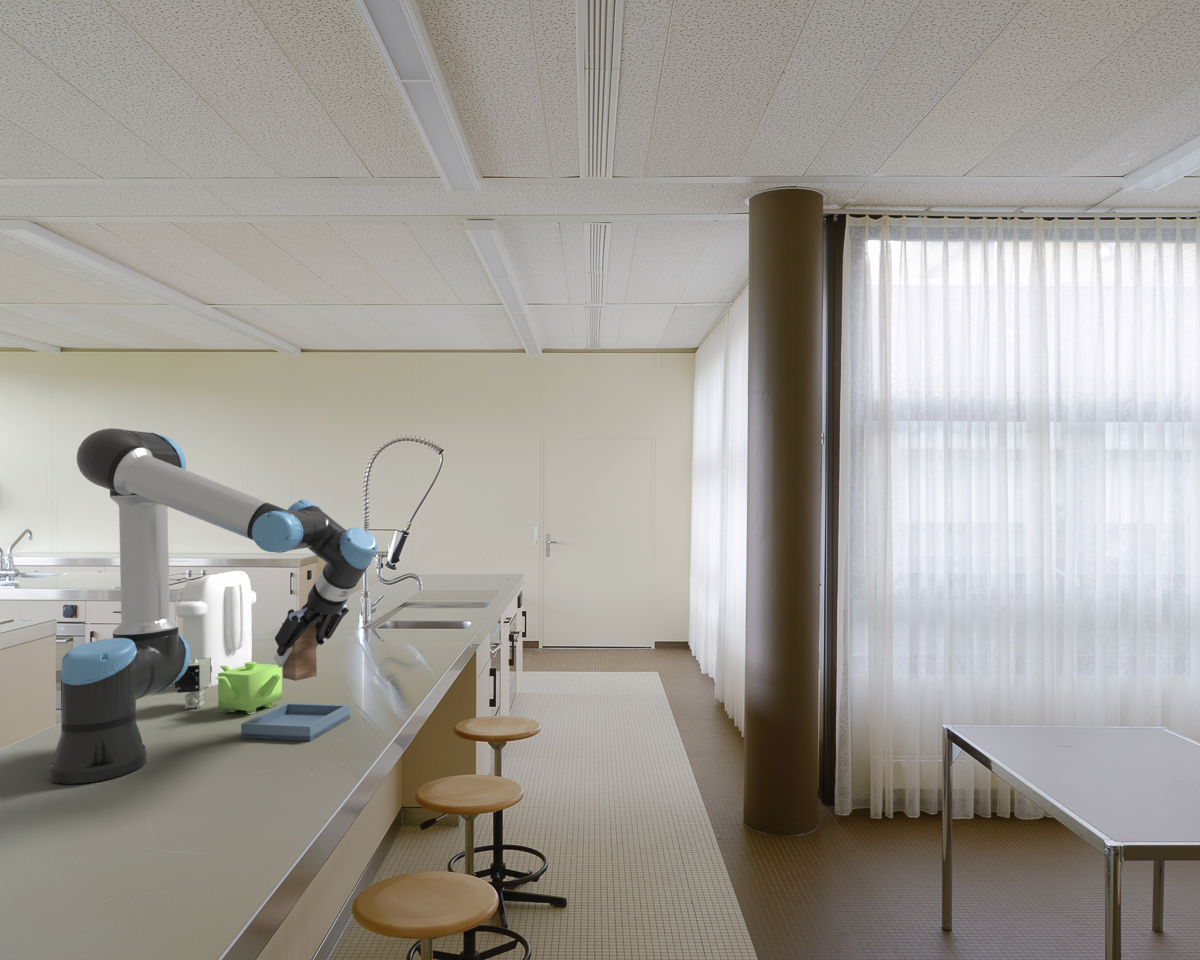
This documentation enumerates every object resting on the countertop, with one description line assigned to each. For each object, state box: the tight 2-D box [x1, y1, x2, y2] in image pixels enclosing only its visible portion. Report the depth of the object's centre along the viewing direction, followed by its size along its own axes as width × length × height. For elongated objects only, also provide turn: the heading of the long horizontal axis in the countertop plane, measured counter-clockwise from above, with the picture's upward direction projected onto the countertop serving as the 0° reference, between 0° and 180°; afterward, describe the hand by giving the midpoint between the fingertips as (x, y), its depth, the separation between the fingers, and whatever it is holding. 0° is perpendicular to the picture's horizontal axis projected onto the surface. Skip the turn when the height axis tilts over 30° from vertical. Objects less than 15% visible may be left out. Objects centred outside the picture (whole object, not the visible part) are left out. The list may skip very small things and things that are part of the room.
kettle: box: [216, 661, 283, 714], centre depth 177 cm, size 15×14×11 cm
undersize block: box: [281, 610, 318, 682], centre depth 162 cm, size 5×5×14 cm
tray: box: [240, 702, 351, 742], centre depth 162 cm, size 16×16×3 cm
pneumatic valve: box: [174, 657, 212, 710], centre depth 180 cm, size 6×12×12 cm, turn 11°
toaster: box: [175, 570, 257, 689], centre depth 208 cm, size 27×11×30 cm, turn 171°
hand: (290, 659), depth 164 cm, fingers closed on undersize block, 5 cm apart
